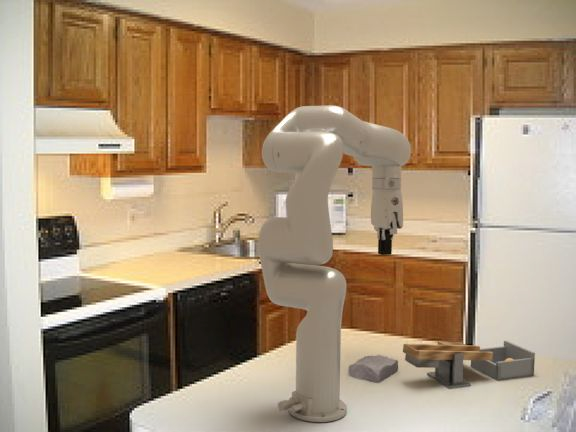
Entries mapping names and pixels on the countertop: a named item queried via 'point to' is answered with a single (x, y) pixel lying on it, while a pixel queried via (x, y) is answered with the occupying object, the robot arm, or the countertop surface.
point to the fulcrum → (450, 372)
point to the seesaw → (441, 353)
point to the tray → (507, 362)
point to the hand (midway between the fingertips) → (384, 254)
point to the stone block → (373, 368)
